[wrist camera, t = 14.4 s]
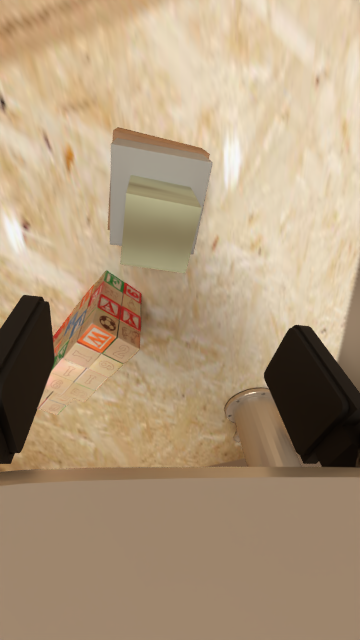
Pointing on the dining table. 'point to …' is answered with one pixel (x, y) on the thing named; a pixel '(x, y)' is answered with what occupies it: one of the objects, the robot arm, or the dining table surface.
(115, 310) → the stack of blocks
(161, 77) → the dining table surface
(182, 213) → the sage block
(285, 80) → the dining table surface
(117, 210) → the tower top
